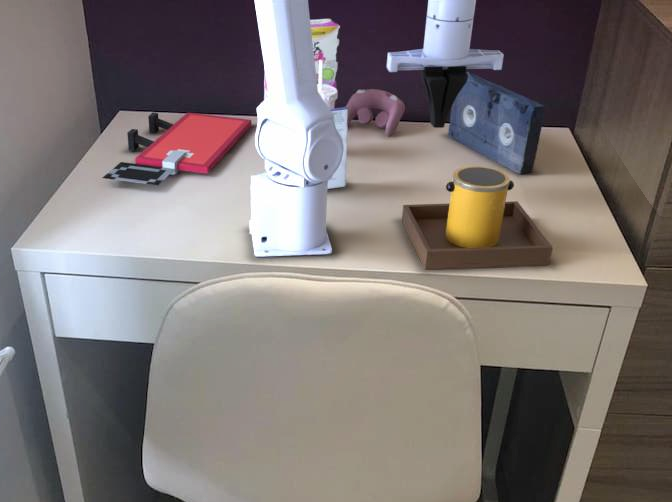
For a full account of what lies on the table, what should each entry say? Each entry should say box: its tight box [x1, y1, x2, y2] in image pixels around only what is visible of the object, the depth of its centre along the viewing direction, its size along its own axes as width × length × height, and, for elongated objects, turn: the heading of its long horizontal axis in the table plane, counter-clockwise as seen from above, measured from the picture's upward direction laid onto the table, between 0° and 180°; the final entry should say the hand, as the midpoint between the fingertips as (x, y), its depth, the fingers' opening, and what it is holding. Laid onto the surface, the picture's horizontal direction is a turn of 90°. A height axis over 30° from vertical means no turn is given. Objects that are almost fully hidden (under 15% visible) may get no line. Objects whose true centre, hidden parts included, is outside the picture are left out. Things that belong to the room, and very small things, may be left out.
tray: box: [401, 200, 554, 270], centre depth 104 cm, size 15×13×2 cm
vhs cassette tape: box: [447, 71, 547, 175], centre depth 127 cm, size 18×3×10 cm, turn 25°
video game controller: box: [345, 88, 406, 137], centre depth 138 cm, size 10×5×7 cm, turn 58°
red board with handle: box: [102, 112, 252, 187], centre depth 128 cm, size 30×3×15 cm
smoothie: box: [317, 60, 339, 109], centre depth 125 cm, size 6×6×14 cm
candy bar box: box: [263, 18, 341, 109], centre depth 134 cm, size 11×5×16 cm, turn 107°
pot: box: [445, 165, 515, 248], centre depth 102 cm, size 8×10×10 cm
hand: (437, 125), depth 111 cm, fingers closed
